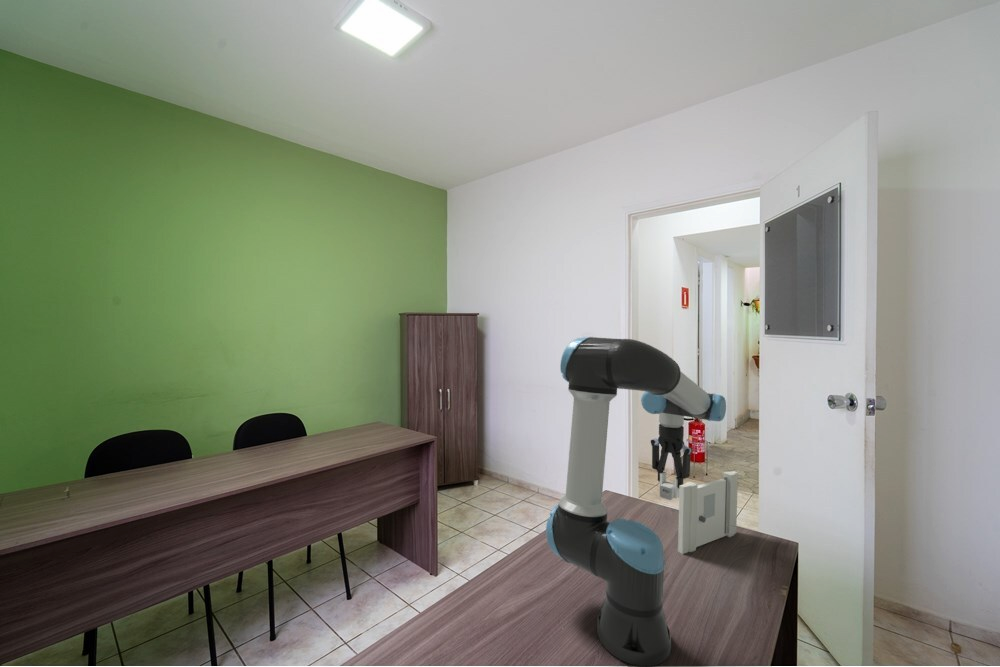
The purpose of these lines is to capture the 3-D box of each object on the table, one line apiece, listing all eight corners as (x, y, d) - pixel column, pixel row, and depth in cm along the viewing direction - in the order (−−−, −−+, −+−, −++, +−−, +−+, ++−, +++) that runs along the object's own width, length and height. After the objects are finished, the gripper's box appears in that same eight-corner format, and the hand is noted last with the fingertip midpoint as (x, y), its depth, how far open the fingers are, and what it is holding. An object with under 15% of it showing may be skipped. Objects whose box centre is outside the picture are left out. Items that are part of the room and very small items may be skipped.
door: (719, 534, 129) (721, 478, 129) (727, 538, 127) (729, 481, 127) (691, 544, 123) (692, 486, 122) (699, 549, 121) (700, 489, 120)
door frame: (683, 555, 118) (685, 487, 118) (676, 550, 121) (677, 484, 120) (737, 533, 131) (739, 473, 130) (730, 530, 133) (731, 470, 132)
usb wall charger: (659, 497, 132) (659, 485, 132) (667, 490, 137) (667, 478, 137) (671, 500, 129) (672, 488, 129) (679, 493, 134) (679, 482, 134)
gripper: (703, 428, 128) (701, 500, 129) (653, 417, 141) (652, 483, 142) (691, 432, 123) (690, 507, 124) (641, 421, 137) (640, 488, 138)
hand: (669, 494), depth 133 cm, fingers closed on usb wall charger, 4 cm apart
